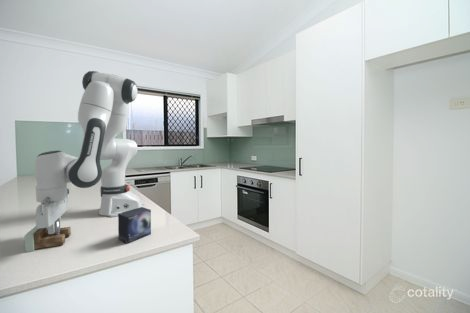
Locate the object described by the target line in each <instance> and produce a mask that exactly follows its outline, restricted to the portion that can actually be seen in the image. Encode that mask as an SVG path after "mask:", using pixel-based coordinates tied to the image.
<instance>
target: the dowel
mask: <svg viewBox="0 0 470 313" xmlns="http://www.w3.org/2000/svg"><path fill="white" fill-rule="evenodd" d="M54 228H55V233H54V234H50V236H52V235H60V234H61V233H60V228H61V220H56V221H55V222H54Z"/></svg>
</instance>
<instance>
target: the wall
mask: <svg viewBox="0 0 470 313" xmlns="http://www.w3.org/2000/svg"><path fill="white" fill-rule="evenodd" d="M37 230H38V228H37V227H36V225H35V226H34V227H33V228H31V229H30V230H29V231H28V232H27V233H26V234H24V245H25V253H30V252H29V251H31V252H34V251H35V250H36V249H35V248H34V233H35V232H36V231H37Z"/></svg>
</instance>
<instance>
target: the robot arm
mask: <svg viewBox="0 0 470 313" xmlns="http://www.w3.org/2000/svg"><path fill="white" fill-rule="evenodd" d="M81 82H82V83H81V84H82V88H83V90H84V91H83V94H82V95H81V96H82V97H81V100H80V103H79V106H78V112H77V113H78V114H77V121H78V123H79V125H80V126H81V128H82V131H83V139H82V144H81V148H80V151H79V152H80V154H79V156H78V157H76V156H73V155H72V154H71V155H70V154H68V153H67V152H64V151H63V150H51V151H50V150H49V151H44V152H41V153H40V154H38V155H37V156H36V157H35V161H34V177H35V180H36V185H35V196H36V199H35V200H36V202H37V203H40V204H39V205H37V206H36V209H35V226H36V227H37V228H38V229H39V228H47V230H48V234H54V233H55V228H54V222H55V221H56V220H60V221H61V219H62V217H61V216H63V215H64V214H65V213H66V212H67V210H68V206H69V204H68V203H69V194H70V188H68V183H71V184H72V185H74V186H75V187H77V188H81V189H88V188H92V187H94V186H95V185H96V184H98V183H99V182H100V181H101V182H100V184H101V186H100V190H99V192H100V206H99V210H98V211H99V212H98V214H99V215H100V216H105V217H106V216H107V217H109V218H115V217H118V213H122V212H126V211H129V210H133V209H136V208H140V207H143V208H146V205H145V203H142V199H141V198H140V197H139V196H138V195H137V194H135V193H134V192H132V191H130V189H131V187H130V184H126V171H127V170H126V169H127V167H128V164H129V163H130V161H131V160H132V159H133V158H134V157H135V156H136V155H137V153H138V148H139V147H138V144H137V142H136V141H135V140H133V139H128V138H116V137H117V136H118V135H119V134H122V133H124V131H126V129H127V127H128V118H129V108H130V107H129V104H130V103H132V102H134V101H135V100H136V99H137V95H138V85H137V84H136V82H135V81H134V80H132V79H130V78H125V77H123V76H119V75H116V74H112V73H111V74H110V73H105V72H99V71H96V70H95V71H94V70H91V71H90V70H89V71H87V72H85V73H84V75H83V77H82V81H81ZM106 160H111V163H110V164H109V165H108V166H106V167H105V168H103V169H102V165H101V161H106Z"/></svg>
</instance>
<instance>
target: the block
mask: <svg viewBox="0 0 470 313" xmlns="http://www.w3.org/2000/svg"><path fill="white" fill-rule="evenodd" d="M60 233H61V234H60V235H52V236H50V234H48V230H47V228H39V229H38V230H37V231H36V232H35V233H34V248H35V250H38V249H44V248H52V247H57V246H62V245H64V244H65V243H66V238H69V237H70V236H71V235H72V232H71V226H67V227H60Z"/></svg>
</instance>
